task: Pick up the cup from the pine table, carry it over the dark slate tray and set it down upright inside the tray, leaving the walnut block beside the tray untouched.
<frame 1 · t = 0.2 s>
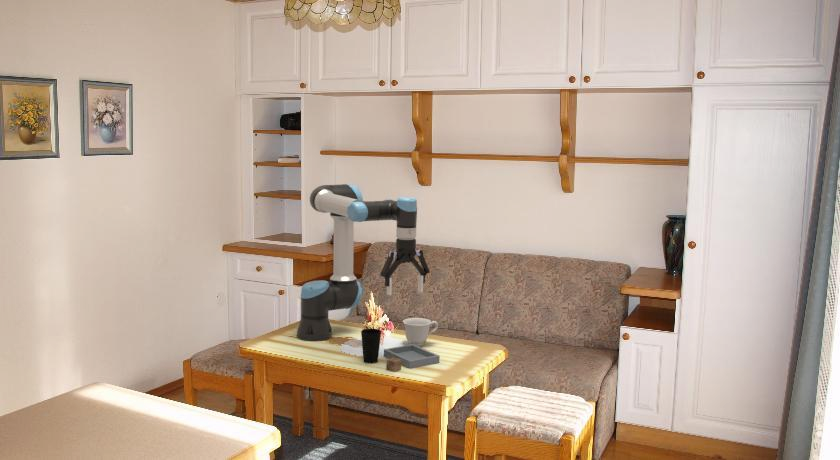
hand: (404, 293, 294), 27 cm above the table, fingers open, 13 cm apart
teacup: (419, 344, 321), on the table
cup: (370, 361, 297), on the table
tray: (411, 359, 301), on the table
walnut block: (393, 370, 287), on the table
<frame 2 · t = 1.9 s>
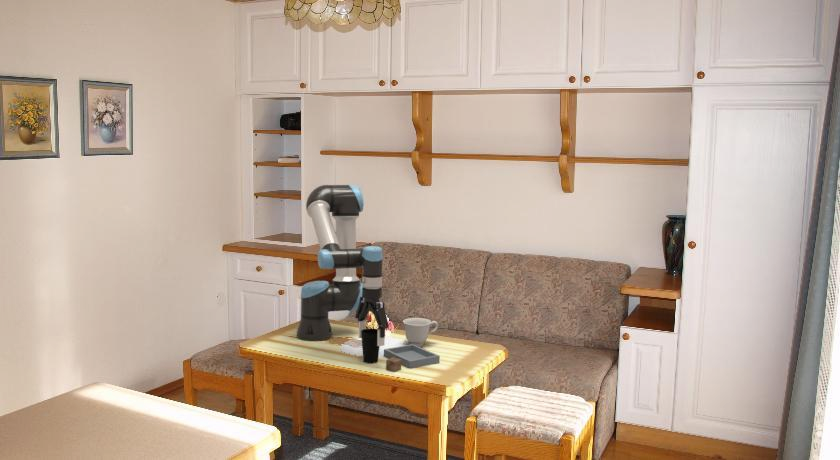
hand: (371, 341, 295), 8 cm above the table, fingers open, 13 cm apart
nothing on the table moved.
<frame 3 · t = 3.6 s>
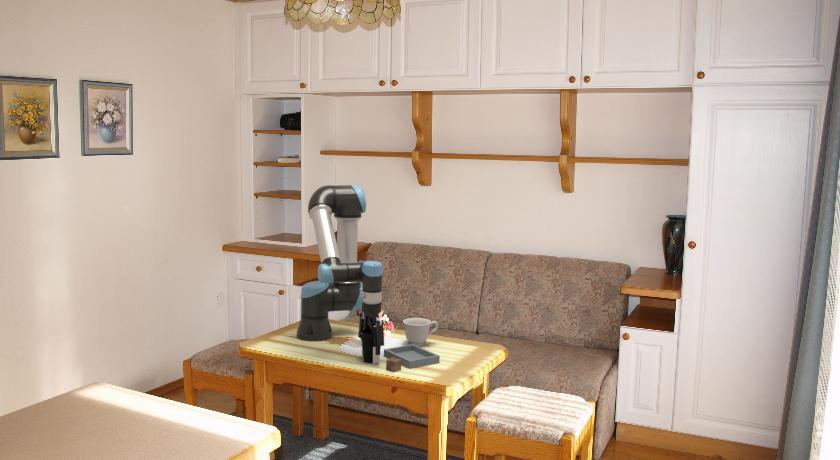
hand: (370, 359, 297), 1 cm above the table, fingers closed on cup, 8 cm apart
cup: (370, 361, 297), on the table, touching gripper
everything else where it was.
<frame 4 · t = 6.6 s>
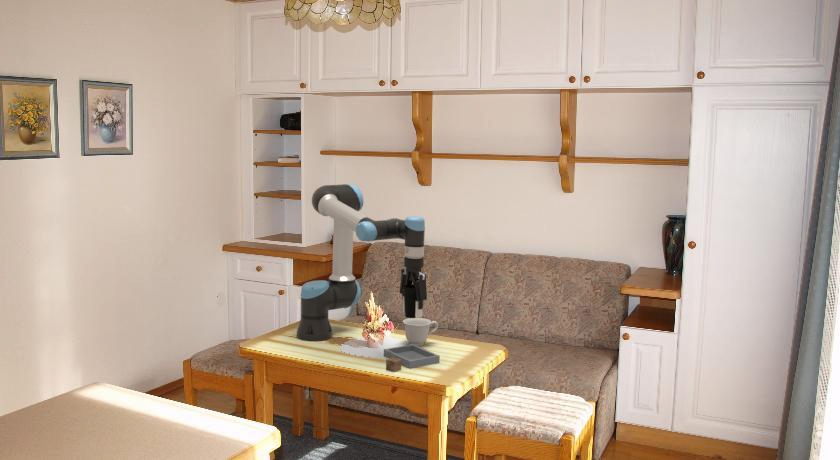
hand: (412, 314, 298), 18 cm above the table, fingers closed on cup, 8 cm apart
cup: (412, 316, 298), point 17 cm above the table, touching gripper
everything else where it was.
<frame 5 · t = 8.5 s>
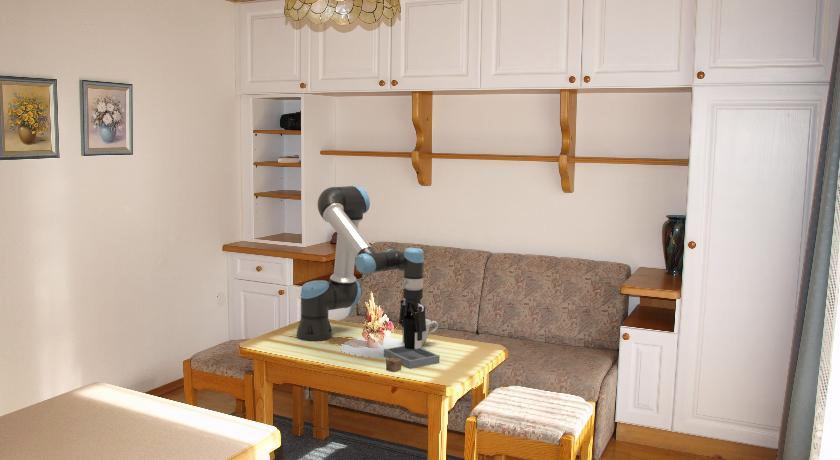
hand: (411, 345, 300), 6 cm above the table, fingers closed on cup, 8 cm apart
cup: (411, 347, 300), point 5 cm above the table, touching gripper
everything else where it was.
when the fingers open (3 cm above the table, at t = 9.9 s): cup drops 2 cm, resting on tray.
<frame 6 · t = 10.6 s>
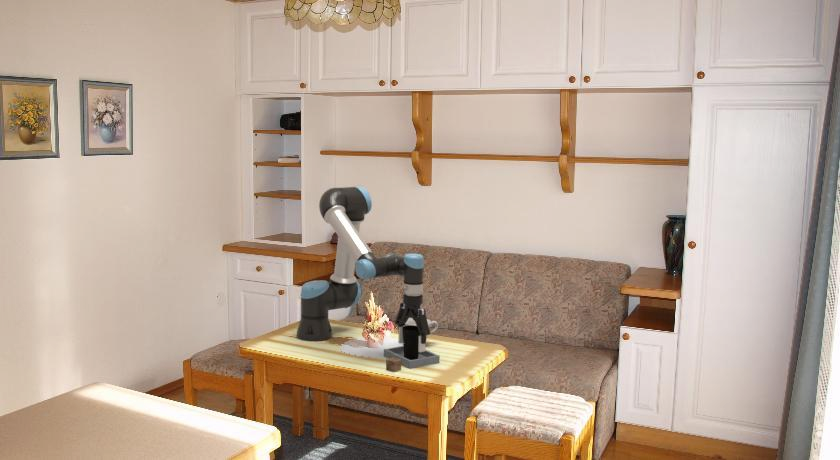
hand: (411, 347, 300), 5 cm above the table, fingers open, 13 cm apart
cup: (411, 358, 301), resting on tray
everything else where it was.
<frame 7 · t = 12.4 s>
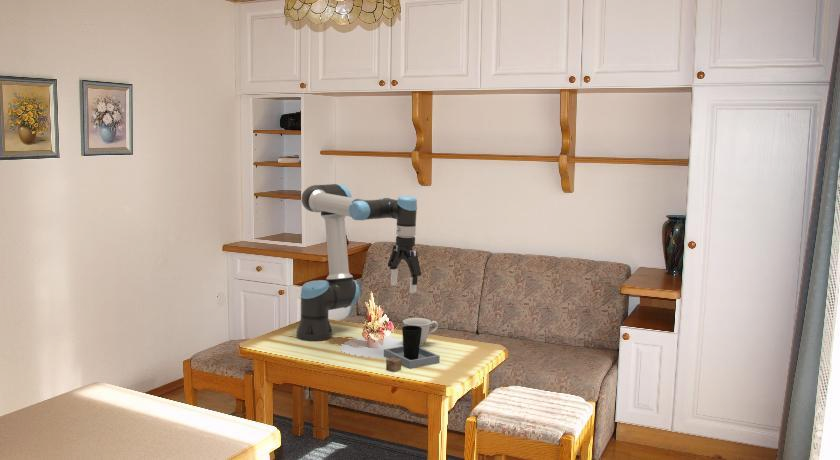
hand: (403, 288, 304), 26 cm above the table, fingers open, 13 cm apart
nothing on the table moved.
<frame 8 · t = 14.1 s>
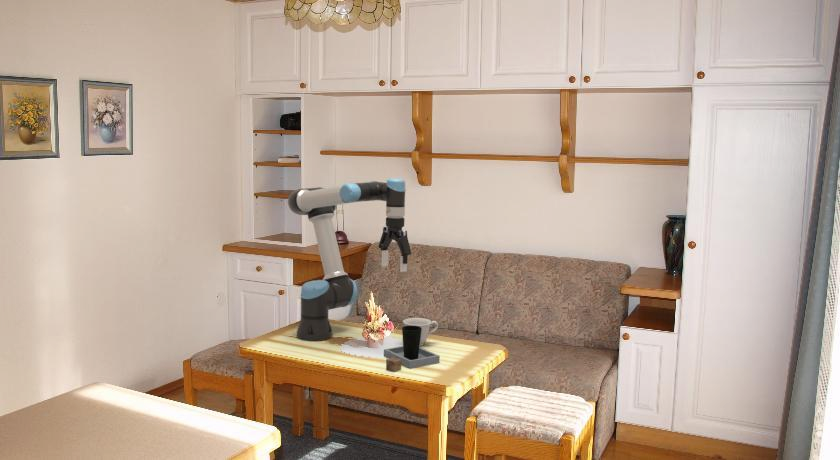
hand: (393, 268, 312), 33 cm above the table, fingers open, 13 cm apart
nothing on the table moved.
at the end: cup inside the target area on the tray (0.1 cm from its centre), point 0.4 cm above the tray's base; cup tilted 0°; the gripper is holding nothing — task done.
